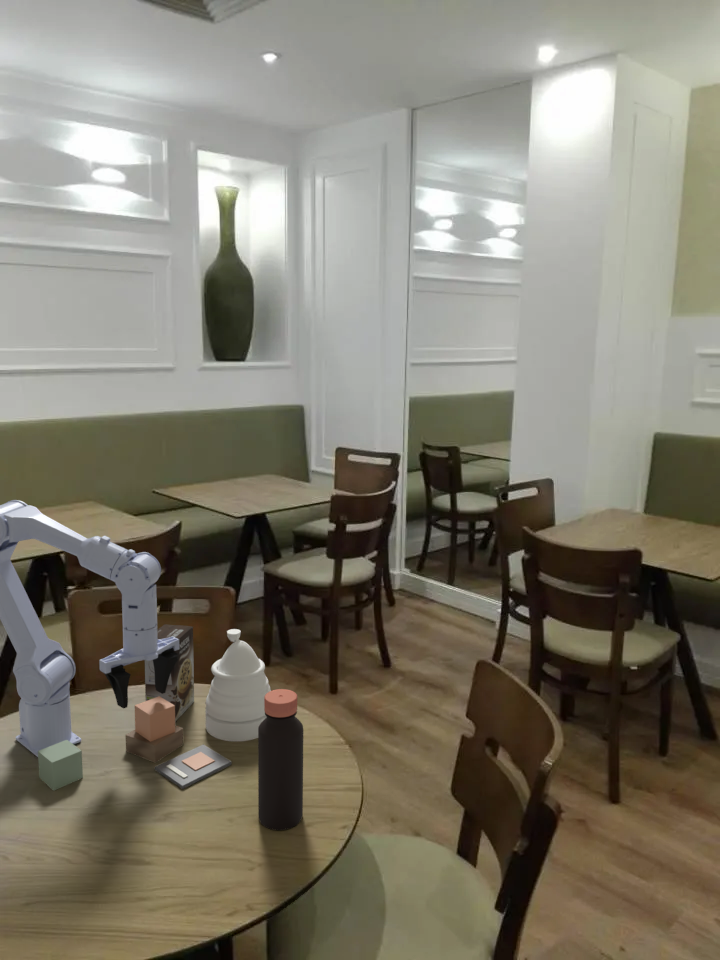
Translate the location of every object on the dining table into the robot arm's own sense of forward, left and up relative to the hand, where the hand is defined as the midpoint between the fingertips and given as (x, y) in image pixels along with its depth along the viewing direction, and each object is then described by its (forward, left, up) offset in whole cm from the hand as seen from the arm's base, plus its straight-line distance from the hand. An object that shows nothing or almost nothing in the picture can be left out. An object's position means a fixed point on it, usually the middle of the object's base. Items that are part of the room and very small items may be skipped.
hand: (141, 698), depth 131 cm
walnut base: (+1, +2, -10) cm, 10 cm away
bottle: (+32, +4, -10) cm, 34 cm away
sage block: (-2, -14, -10) cm, 17 cm away
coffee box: (-9, +12, -10) cm, 18 cm away
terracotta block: (+1, +2, -7) cm, 7 cm away
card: (+11, +3, -10) cm, 15 cm away
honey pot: (+5, +18, -10) cm, 21 cm away
